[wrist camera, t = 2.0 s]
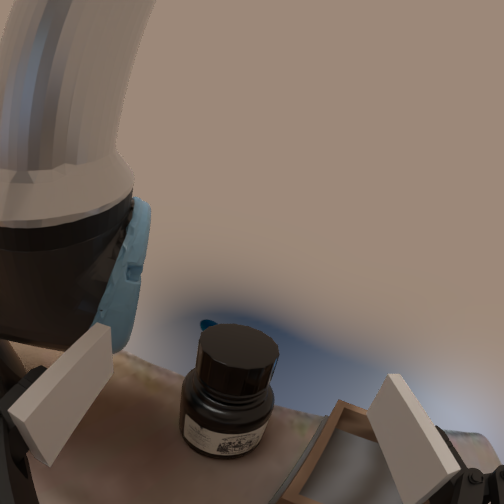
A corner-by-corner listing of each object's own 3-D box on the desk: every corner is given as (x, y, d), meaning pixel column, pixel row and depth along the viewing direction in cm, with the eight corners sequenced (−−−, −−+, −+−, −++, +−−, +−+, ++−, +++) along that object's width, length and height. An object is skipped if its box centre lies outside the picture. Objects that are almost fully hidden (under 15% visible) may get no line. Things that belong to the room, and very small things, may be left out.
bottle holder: (258, 515, 15) (272, 499, 14) (322, 420, 28) (335, 395, 27) (410, 557, 7) (441, 541, 6) (429, 455, 21) (448, 432, 20)
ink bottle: (179, 463, 19) (186, 378, 16) (171, 401, 27) (178, 314, 24) (275, 454, 22) (313, 373, 20) (250, 400, 30) (274, 319, 28)
